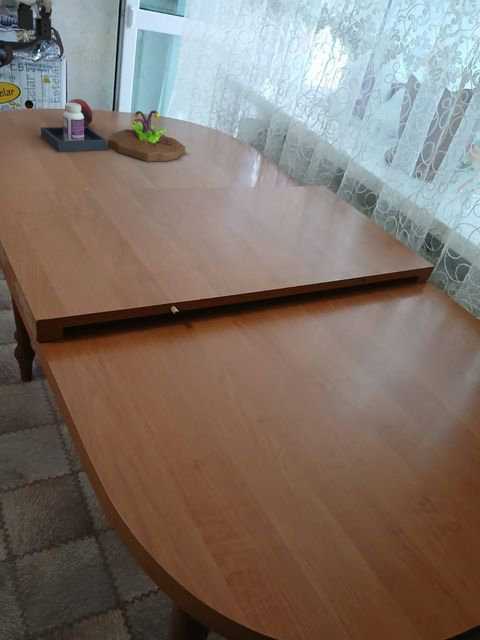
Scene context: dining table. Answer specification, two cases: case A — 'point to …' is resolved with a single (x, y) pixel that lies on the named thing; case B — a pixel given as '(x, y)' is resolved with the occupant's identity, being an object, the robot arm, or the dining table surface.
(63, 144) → the tray
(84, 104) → the fruit
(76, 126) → the pill bottle
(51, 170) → the dining table surface
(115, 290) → the dining table surface
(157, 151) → the plant
